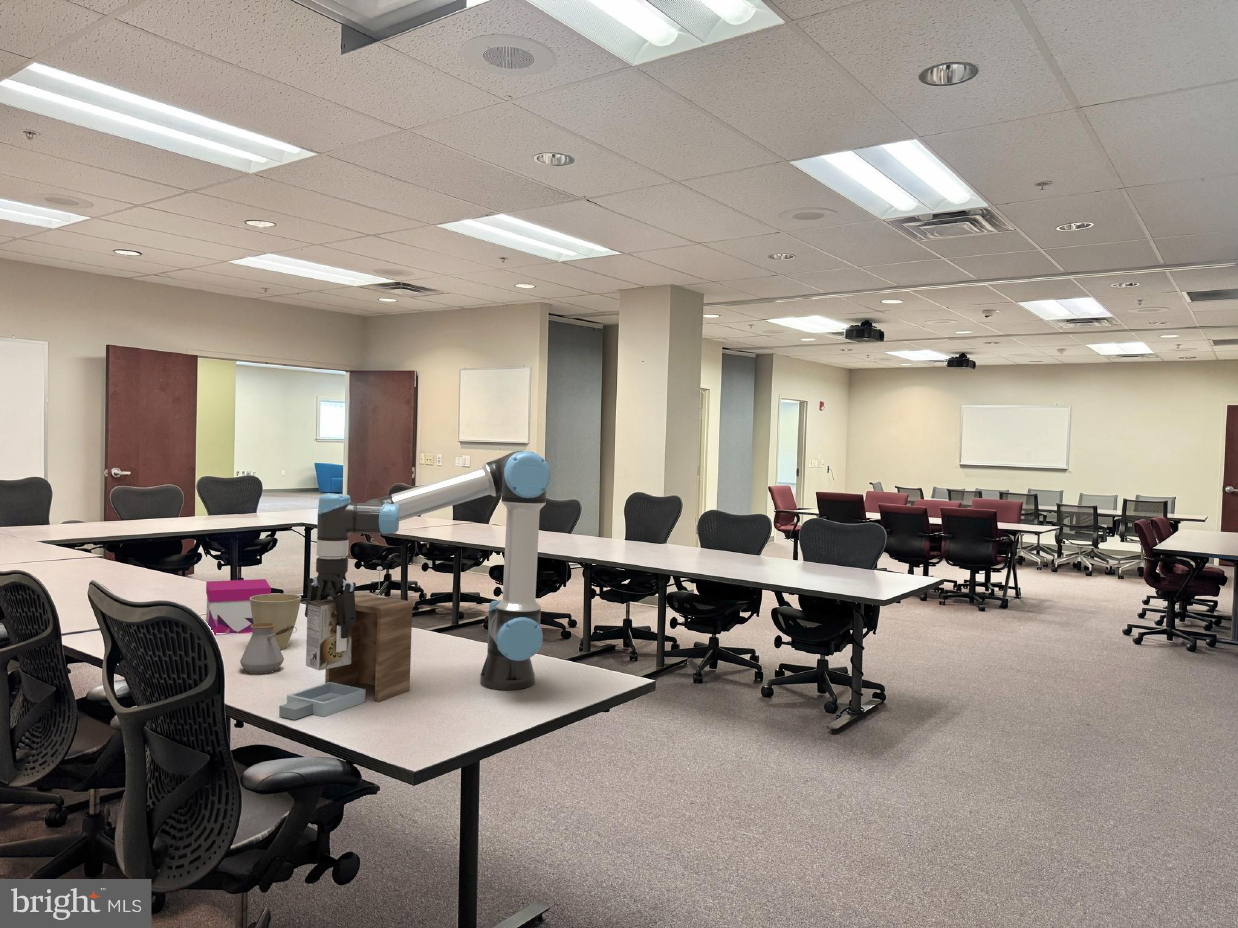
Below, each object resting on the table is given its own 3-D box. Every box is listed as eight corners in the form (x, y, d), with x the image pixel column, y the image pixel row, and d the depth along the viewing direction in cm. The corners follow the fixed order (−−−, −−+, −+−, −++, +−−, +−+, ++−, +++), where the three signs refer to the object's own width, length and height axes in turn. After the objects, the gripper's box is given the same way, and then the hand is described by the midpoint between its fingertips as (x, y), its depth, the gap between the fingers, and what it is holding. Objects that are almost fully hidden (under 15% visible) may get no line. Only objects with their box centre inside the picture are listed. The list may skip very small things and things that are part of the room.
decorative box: (205, 624, 295) (206, 581, 295) (264, 620, 304) (265, 579, 304) (207, 635, 279) (208, 590, 278) (269, 631, 288) (271, 587, 287)
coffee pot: (231, 669, 239) (233, 617, 239) (270, 662, 249) (271, 611, 248) (272, 685, 226) (274, 629, 226) (311, 676, 235) (312, 623, 235)
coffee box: (337, 659, 216) (339, 596, 216) (351, 664, 212) (354, 600, 212) (304, 665, 209) (306, 600, 209) (318, 670, 205) (321, 604, 205)
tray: (365, 701, 214) (365, 689, 214) (305, 723, 197) (306, 709, 197) (329, 694, 219) (329, 681, 219) (268, 714, 202) (268, 701, 202)
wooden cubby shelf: (409, 691, 225) (412, 601, 225) (378, 702, 214) (381, 608, 214) (357, 681, 233) (360, 593, 232) (324, 691, 222) (327, 600, 222)
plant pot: (288, 654, 258) (289, 602, 258) (239, 652, 259) (241, 600, 258) (307, 643, 273) (308, 594, 273) (261, 641, 274) (262, 592, 273)
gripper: (374, 558, 209) (371, 651, 210) (313, 551, 218) (310, 640, 218) (352, 562, 202) (349, 657, 203) (290, 554, 211) (287, 645, 212)
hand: (329, 648), depth 211 cm, fingers closed on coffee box, 7 cm apart
